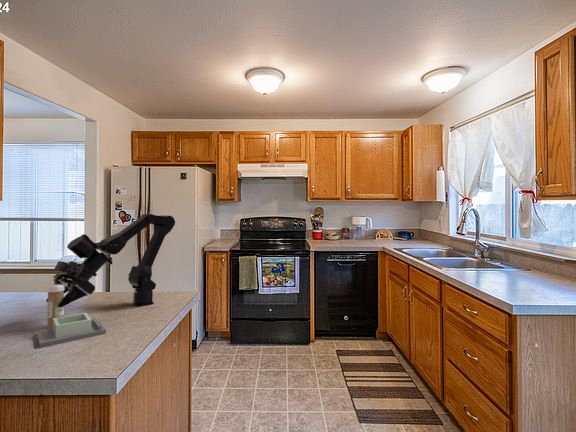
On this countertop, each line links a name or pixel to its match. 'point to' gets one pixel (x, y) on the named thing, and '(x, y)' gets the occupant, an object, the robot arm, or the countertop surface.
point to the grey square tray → (70, 329)
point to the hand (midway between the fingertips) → (52, 304)
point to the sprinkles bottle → (54, 302)
